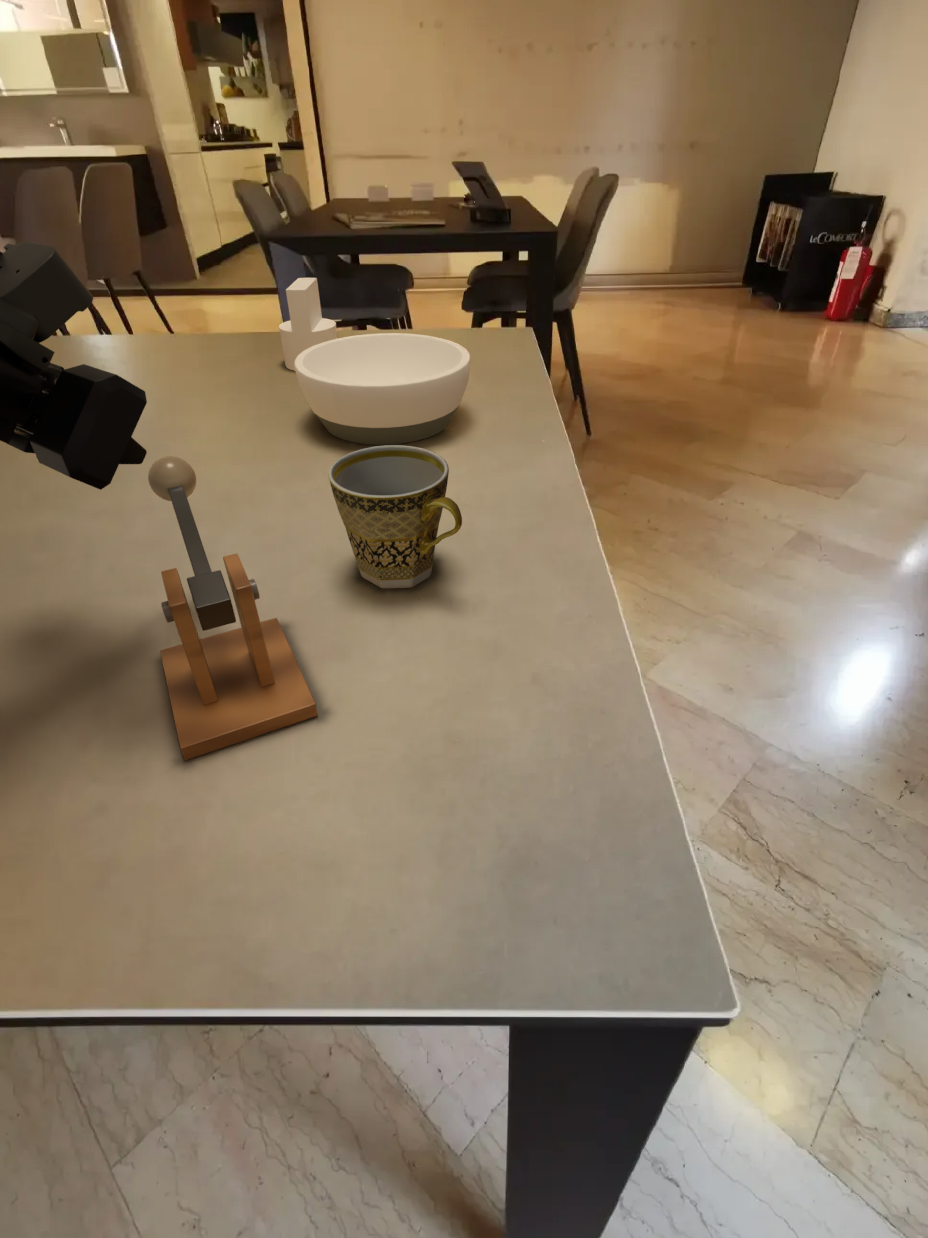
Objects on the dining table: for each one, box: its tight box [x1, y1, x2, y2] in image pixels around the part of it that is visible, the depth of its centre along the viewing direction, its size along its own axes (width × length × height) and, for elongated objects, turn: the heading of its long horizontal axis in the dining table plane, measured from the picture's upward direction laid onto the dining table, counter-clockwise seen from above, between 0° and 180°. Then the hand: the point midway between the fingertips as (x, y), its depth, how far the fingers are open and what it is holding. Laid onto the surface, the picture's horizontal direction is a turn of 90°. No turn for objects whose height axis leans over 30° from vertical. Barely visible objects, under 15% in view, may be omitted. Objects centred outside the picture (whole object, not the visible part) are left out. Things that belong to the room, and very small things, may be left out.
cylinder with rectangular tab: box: [278, 277, 339, 372], centre depth 107 cm, size 9×9×12 cm
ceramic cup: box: [328, 444, 463, 589], centre depth 58 cm, size 13×10×10 cm
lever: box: [147, 455, 237, 632], centre depth 48 cm, size 16×3×3 cm, turn 26°
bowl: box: [294, 332, 471, 446], centre depth 88 cm, size 22×22×8 cm
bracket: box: [159, 553, 319, 761], centre depth 46 cm, size 11×9×10 cm
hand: (141, 456), depth 49 cm, fingers closed
